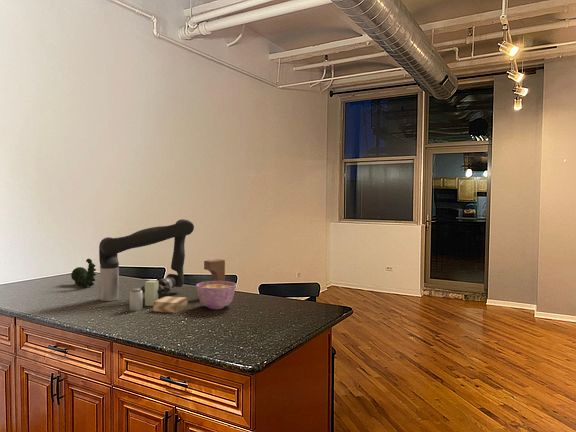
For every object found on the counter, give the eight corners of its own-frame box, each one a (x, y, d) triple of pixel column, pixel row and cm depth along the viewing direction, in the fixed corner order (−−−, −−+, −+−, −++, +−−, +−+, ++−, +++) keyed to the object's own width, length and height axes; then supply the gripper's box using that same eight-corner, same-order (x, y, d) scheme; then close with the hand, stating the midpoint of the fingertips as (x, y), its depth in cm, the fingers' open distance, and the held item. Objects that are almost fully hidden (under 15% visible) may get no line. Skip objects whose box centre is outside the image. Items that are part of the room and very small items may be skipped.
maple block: (153, 311, 207) (153, 301, 207) (165, 306, 219) (165, 296, 219) (176, 313, 205) (176, 302, 205) (187, 307, 216) (187, 297, 216)
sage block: (144, 305, 218) (145, 282, 218) (149, 303, 223) (149, 280, 223) (154, 305, 217) (154, 282, 217) (158, 303, 222) (158, 280, 222)
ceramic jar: (127, 310, 207) (127, 290, 207) (133, 307, 213) (133, 287, 213) (139, 311, 206) (139, 290, 206) (144, 308, 212) (144, 288, 212)
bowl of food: (220, 301, 230) (220, 279, 230) (244, 307, 216) (244, 284, 216) (188, 306, 216) (188, 284, 216) (210, 314, 202) (211, 289, 202)
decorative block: (209, 297, 238) (209, 261, 238) (203, 296, 242) (203, 260, 241) (225, 294, 246) (225, 260, 245) (219, 293, 250) (219, 259, 249)
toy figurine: (99, 289, 264) (81, 281, 280) (100, 259, 262) (82, 252, 278) (83, 292, 257) (66, 283, 273) (85, 261, 255) (67, 253, 271)
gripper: (150, 278, 235) (136, 283, 219) (175, 279, 233) (163, 284, 217) (150, 292, 235) (136, 298, 219) (175, 293, 234) (163, 299, 217)
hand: (150, 291), depth 218 cm, fingers open, 8 cm apart
